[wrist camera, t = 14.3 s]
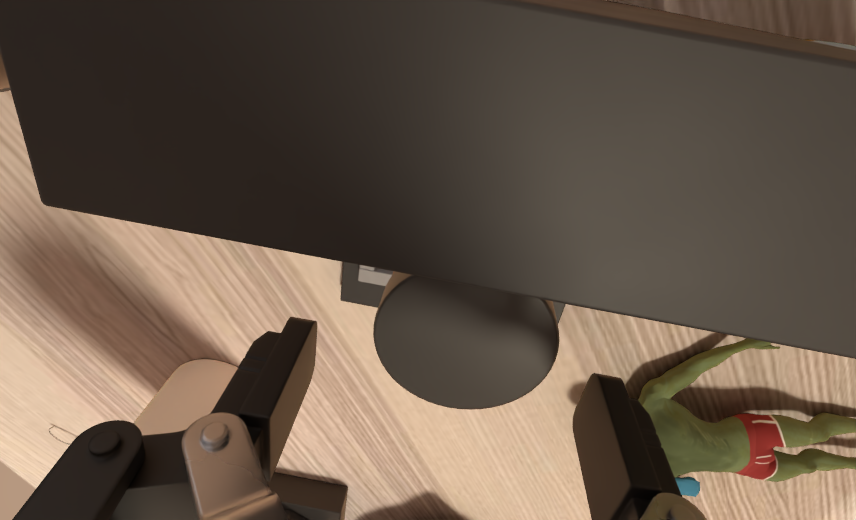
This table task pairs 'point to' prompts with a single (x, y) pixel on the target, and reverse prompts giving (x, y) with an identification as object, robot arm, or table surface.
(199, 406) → the cylindrical container
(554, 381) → the table surface
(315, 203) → the coffee maker
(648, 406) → the figurine
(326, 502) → the control block
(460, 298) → the orange canister with lid
